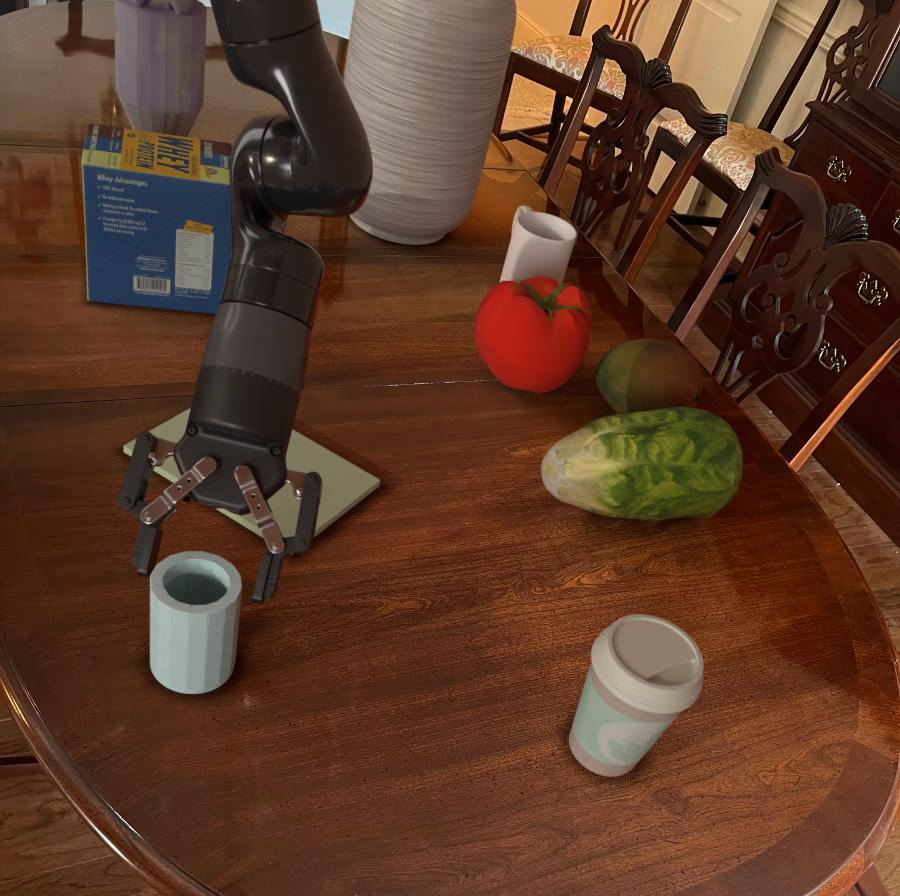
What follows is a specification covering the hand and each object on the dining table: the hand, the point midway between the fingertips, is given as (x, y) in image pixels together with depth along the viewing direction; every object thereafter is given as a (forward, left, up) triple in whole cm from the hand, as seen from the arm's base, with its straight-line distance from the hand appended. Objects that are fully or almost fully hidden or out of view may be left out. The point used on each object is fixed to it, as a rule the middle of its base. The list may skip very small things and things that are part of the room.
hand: (201, 589), depth 73 cm
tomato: (-2, +58, -7) cm, 58 cm away
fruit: (+12, +61, -7) cm, 63 cm away
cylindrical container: (0, -1, -7) cm, 7 cm away
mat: (-12, +21, -7) cm, 25 cm away
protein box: (-41, +39, -7) cm, 57 cm away
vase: (-34, +79, -7) cm, 86 cm away
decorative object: (-56, +55, -7) cm, 79 cm away
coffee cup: (+30, +14, -7) cm, 34 cm away
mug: (-12, +76, -7) cm, 77 cm away
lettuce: (+18, +44, -7) cm, 48 cm away
